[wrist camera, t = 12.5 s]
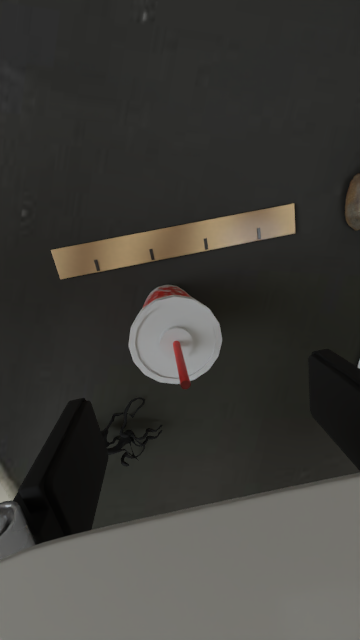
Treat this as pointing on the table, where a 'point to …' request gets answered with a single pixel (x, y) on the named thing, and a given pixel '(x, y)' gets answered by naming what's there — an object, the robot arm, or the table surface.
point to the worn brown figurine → (353, 203)
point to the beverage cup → (174, 337)
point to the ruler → (174, 241)
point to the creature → (126, 436)
